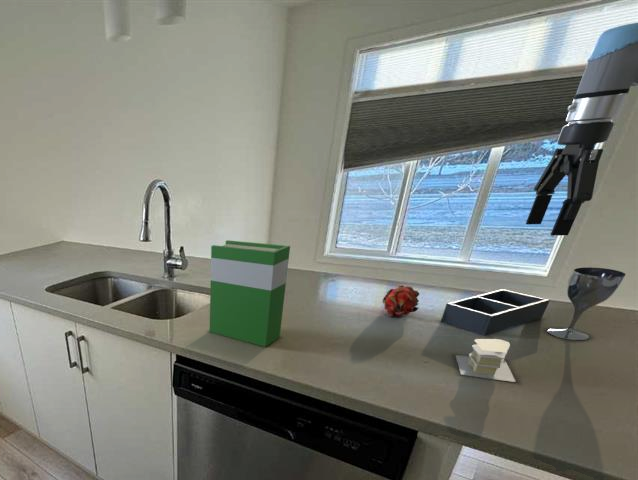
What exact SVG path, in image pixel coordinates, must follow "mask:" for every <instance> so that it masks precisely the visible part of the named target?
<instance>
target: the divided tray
mask: <svg viewBox="0 0 638 480" xmlns="http://www.w3.org/2000/svg"><path fill="white" fill-rule="evenodd" d="M550 301H551V299H548V298H543V297H539V296H535V295H530V294H525V293H521V292H517V291H514V290H513V291H512V290H509V289H504V288H501V289H498V290H494V291H489V292H486V293H481V294H478V295H474V296H471V297H470V296H469V297H465V298H462V299H459V300H455V301H451V302H447V303H446V304H445V307H444V310H443V313H442V316H441V319H440V322H442V323H445V324H448V325H451V326H454V327H457V328H459V329H463V330H466V331H470V332H473V333H476V334H479V335H481V336H488V335H490V334H495V333H497V332H501V331H504V330H507V329H511V328H514V327H517V326H521V325H524V324H528V323H532V322H534V321H538V320H541V319H542V318H543V317H544V314H545V312H546V310H547V308H548V306H549V303H550Z"/></svg>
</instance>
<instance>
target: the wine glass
mask: <svg viewBox="0 0 638 480" xmlns="http://www.w3.org/2000/svg"><path fill="white" fill-rule="evenodd" d="M625 277H626V273H625V272H623V271H620V270H616V269H612V268H605V267H592V266H591V267H588V266H587V267H577V268H574V270H573V271H572V273H571V275H570V278H569V280H568V284H567V288H566V296H567V297H568V299H569V301H570V302H571V304H572V305H573V309H574V313H573V316H572V319H571V322H570V324H569V325H568V327H567V328H564V327H553V328H549V329H548V330H547V333H548V334H549V335H551V336H553V337H556V338H560V339H565V340H570V341H586V340H589V338H590V336H589V335H588V334H587V333H585V332H583V331H579V330H575V329H574V328H575V326H576V323H577V322H578V320H579V319H580V318H581V316H582V315H583V314H584V313H585V312H586V311H587V310H589V309H591V308H593V307H595V306H597V305H599V304H601V303H604V302H605V301H607V300H608V299H610V298H611V297H612V296H613V295H614V294H615V292H616V291H617V290H618V289H619V287H620V285H621V284H622V282H623V280H624V279H625Z"/></svg>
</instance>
